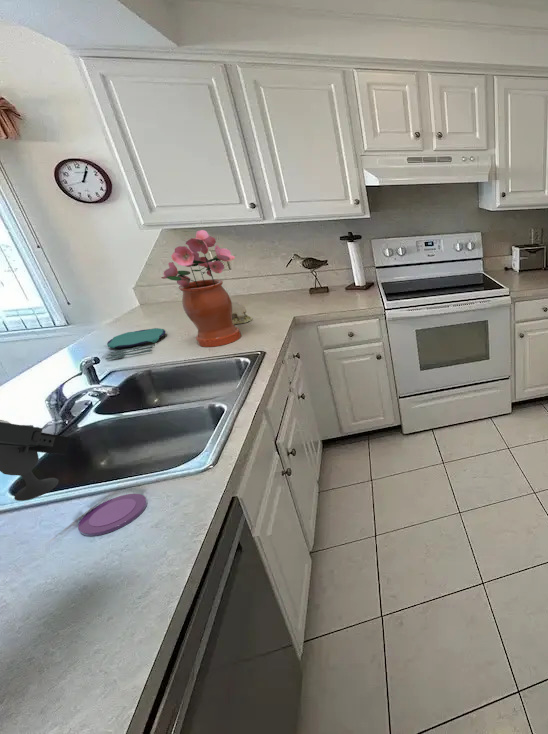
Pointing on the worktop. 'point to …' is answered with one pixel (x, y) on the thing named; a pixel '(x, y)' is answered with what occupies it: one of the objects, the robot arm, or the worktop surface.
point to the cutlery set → (134, 341)
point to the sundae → (24, 471)
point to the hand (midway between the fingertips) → (39, 447)
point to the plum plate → (112, 514)
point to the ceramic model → (239, 314)
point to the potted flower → (205, 291)
